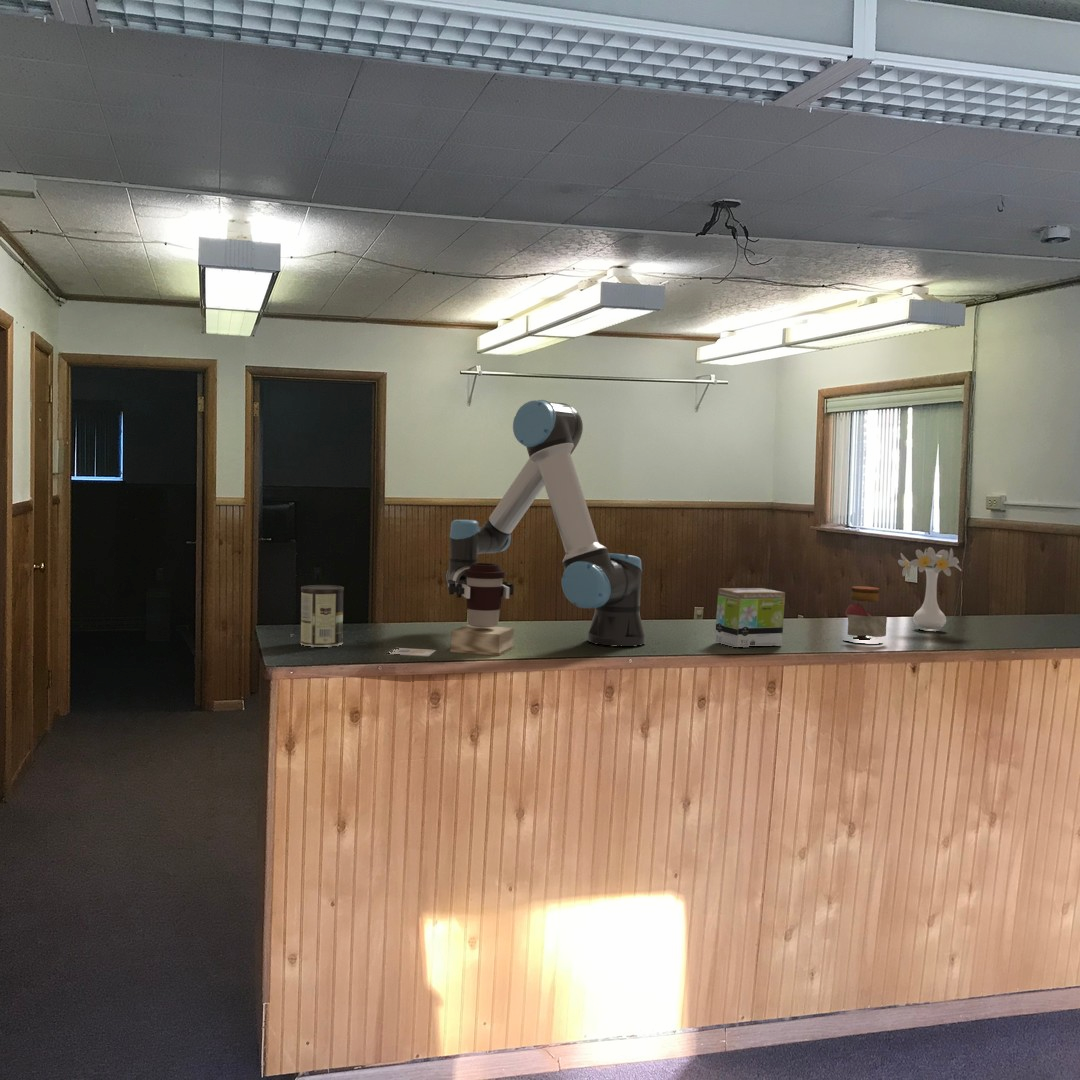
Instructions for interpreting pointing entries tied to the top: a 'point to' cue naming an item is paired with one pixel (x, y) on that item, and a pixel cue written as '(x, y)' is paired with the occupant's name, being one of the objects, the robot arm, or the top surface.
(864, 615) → the brown red grey stack
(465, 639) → the tan flat block
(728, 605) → the tea box
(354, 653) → the top surface
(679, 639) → the top surface
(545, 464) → the robot arm
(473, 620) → the coffee cup
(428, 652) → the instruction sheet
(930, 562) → the flower vase
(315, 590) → the coffee can
